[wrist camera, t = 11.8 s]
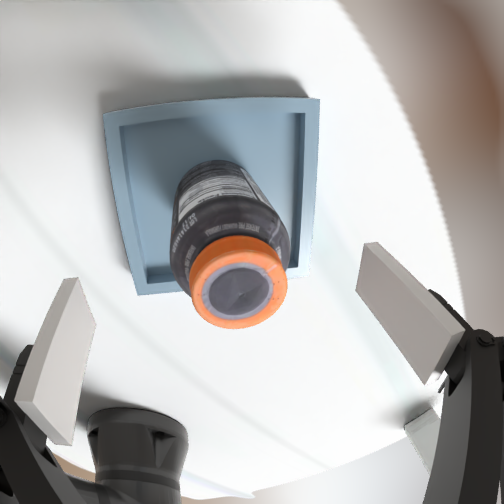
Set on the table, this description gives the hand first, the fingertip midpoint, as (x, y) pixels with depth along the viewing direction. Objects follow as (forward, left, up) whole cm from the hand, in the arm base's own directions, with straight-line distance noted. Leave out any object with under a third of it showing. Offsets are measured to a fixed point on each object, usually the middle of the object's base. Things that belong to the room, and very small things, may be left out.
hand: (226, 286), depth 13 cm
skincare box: (+42, -56, -11) cm, 71 cm away
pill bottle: (0, 0, -10) cm, 10 cm away
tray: (0, 0, -11) cm, 11 cm away
